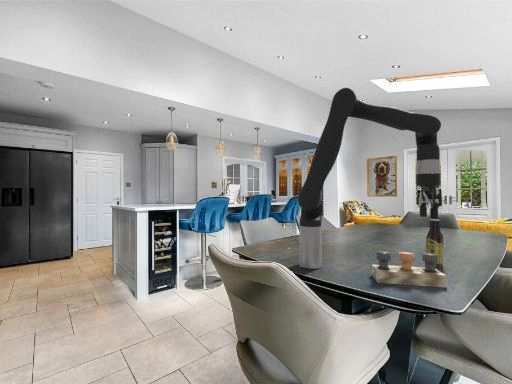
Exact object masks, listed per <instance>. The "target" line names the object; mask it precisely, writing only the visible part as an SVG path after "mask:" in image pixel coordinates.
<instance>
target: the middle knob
mask: <svg viewBox="0 0 512 384" xmlns="http://www.w3.org/2000/svg"><path fill="white" fill-rule="evenodd" d="M398 261H401V263H400V264H401V265H400V266H402V271H411V267H412V263H414V262H415V253H413V252H407V251H399V252H398Z"/></svg>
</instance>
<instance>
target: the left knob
mask: <svg viewBox="0 0 512 384" xmlns="http://www.w3.org/2000/svg"><path fill="white" fill-rule="evenodd" d="M391 256H392V252H391V251H386V250H377V251H375V257H376V258H375V259H376V260H378V265H379V269H380V270H388V265H389V262H390V261H391V260H392V257H391Z"/></svg>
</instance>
